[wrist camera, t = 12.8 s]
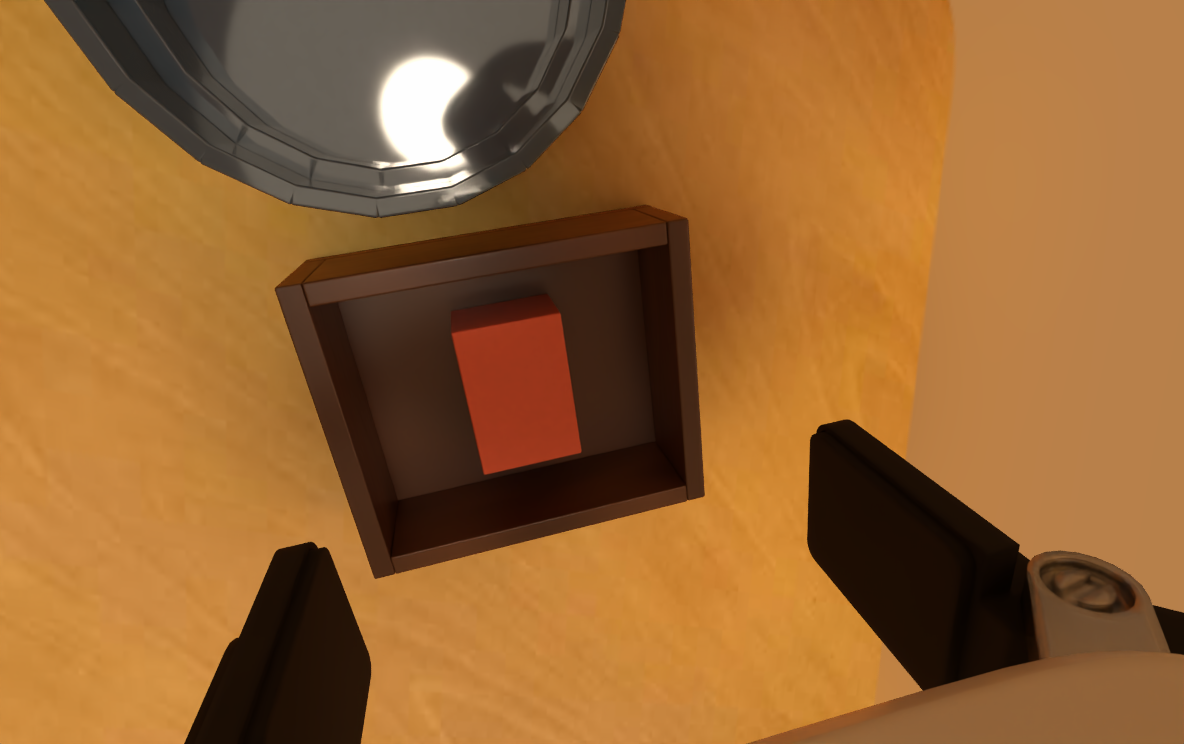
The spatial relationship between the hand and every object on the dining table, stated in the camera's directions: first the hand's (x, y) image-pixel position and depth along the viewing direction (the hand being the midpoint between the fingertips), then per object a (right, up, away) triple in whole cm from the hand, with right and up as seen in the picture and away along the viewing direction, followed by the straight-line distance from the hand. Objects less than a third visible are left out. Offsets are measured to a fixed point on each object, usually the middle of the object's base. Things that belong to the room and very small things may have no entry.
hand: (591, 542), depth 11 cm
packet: (-3, +3, +14) cm, 15 cm away
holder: (-4, +4, +14) cm, 15 cm away
